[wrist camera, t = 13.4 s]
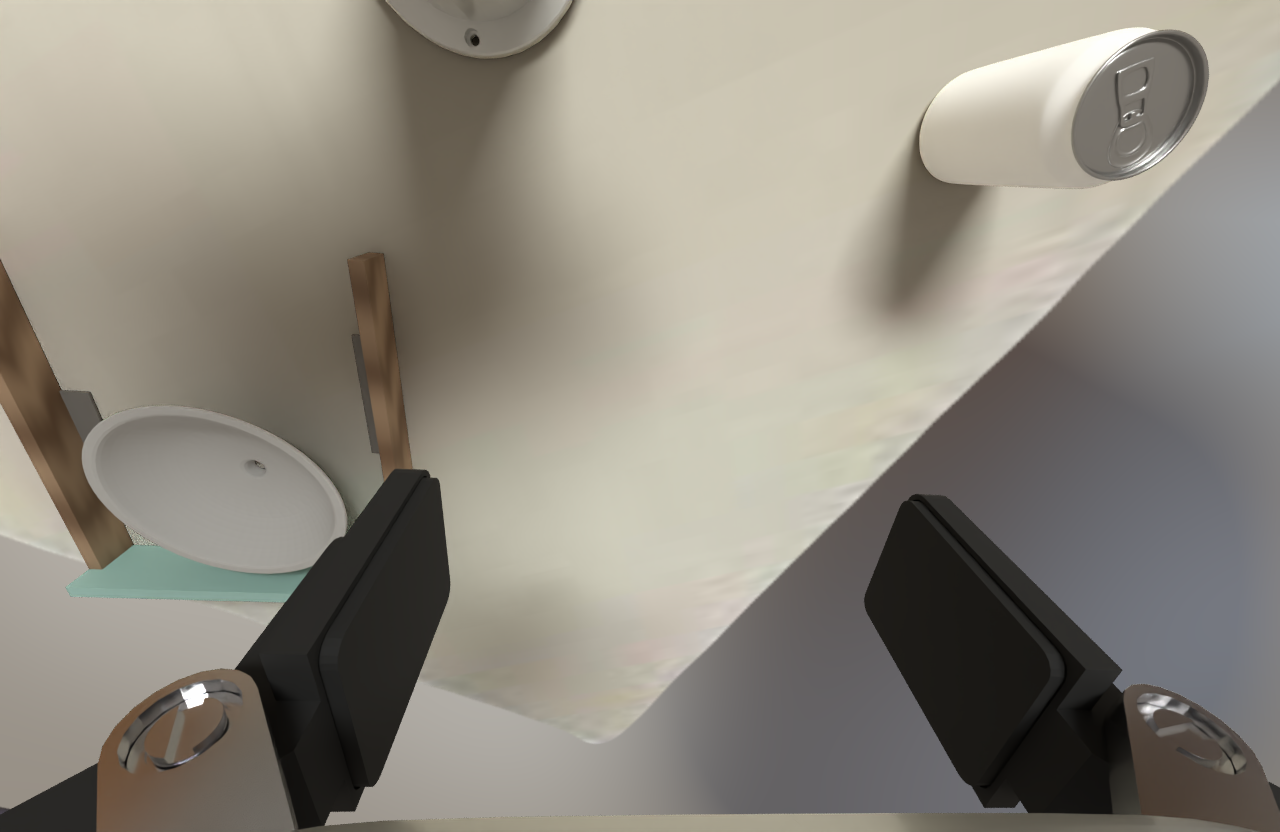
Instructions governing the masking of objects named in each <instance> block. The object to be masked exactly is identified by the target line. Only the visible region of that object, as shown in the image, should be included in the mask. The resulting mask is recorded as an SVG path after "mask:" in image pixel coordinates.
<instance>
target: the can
mask: <svg viewBox="0 0 1280 832" xmlns="http://www.w3.org/2000/svg"><path fill="white" fill-rule="evenodd" d="M1208 79H1209V67H1208V61H1207V57H1206V54H1205V52H1204V49H1203V48H1202V46H1201V45H1200V43H1199V42H1198V41H1197V40H1196V39H1195V38H1194V37H1192V36H1191V35H1189V34H1187V33H1185V32H1182V31H1178V30H1160V31H1157V30H1154V29H1149V28H1141V27H1136V28H1127V29H1121V30H1117V31H1112V32H1108V33H1104V34H1100V35H1097V36H1093V37H1089V38H1085V39H1082V40H1078V41H1074V42H1070V43H1067V44H1063V45H1059V46H1056V47H1052V48H1048V49H1045V50H1041V51H1038V52H1034V53H1030V54H1027V55H1023V56H1019V57H1016V58H1012V59H1009V60H1005V61H1001V62H998V63H994V64H991V65H987V66H984V67H980V68H977V69H974V70H971V71H968V72H966V73H964V74H961V75H960V76H958V77H956V78H955V79H953V80H952V81H951V82H949V83H948V84H947V85H946V86H945V87H944V88H943V89H942V90H941V91H940V92H939V93H938V94H937V96H936V97H935V98H934V100H933V101H932V103H931V104H930V106H929V108H928V110H927V112H926V114H925V116H924V119H923V122H922V126H921V130H920V137H919V148H920V155H921V158H922V161H923V163H924V165H925V167H926V169H927V170H928V171H929V172H930V173H931V174H932V175H933V176H934V177H935V178H937V179H939V180H941V181H943V182H947V183H953V184H966V185H985V186H1007V187H1030V188H1056V189H1083V188H1091V187H1096V186H1100V185H1103V184H1106V183H1108V182H1111V181H1115V180H1122V179H1127V178H1130V177H1133V176H1136V175H1138V174H1140V173H1142V172H1144V171H1146V170H1148V169H1150V168H1151V167H1153V166H1154V165H1156V164H1157V163H1159V162H1160V161H1161V160H1163V159H1164V158H1165V157H1166V156H1167V155H1168V154H1169V153H1170V152H1171V151H1173V149H1174V148H1175V147H1176V146H1177V145H1178V144H1179V143H1180V142H1181V141H1182V139H1183V138H1184V137H1185V135H1186V134H1187V133H1188V131H1189V130H1190V128H1191V127H1192V125H1193V123H1194V122H1195V120H1196V118H1197V116H1198V114H1199V112H1200V110H1201V107H1202V105H1203V102H1204V99H1205V96H1206V92H1207V87H1208Z"/></svg>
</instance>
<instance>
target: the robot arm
mask: <svg viewBox="0 0 1280 832" xmlns="http://www.w3.org/2000/svg"><path fill="white" fill-rule="evenodd" d="M385 1H386V2H387V3H388V4H389V5H390V6H391V8H392V9H393V10H394V11H395V12H396V13H397V14H398V15H399V16H400V17H401V18H402V19H403V20H404V21H405V22H406V23H407V24H408V25H410V26H411V27H412V28H413V29H415V30H416V31H417V32H418V33H420V34H421V35H423V36H424V37H425V38H427V39H429V40H430V41H432V42H434V43H435V44H437V45H438V46H440V47H442V48H445V49H447V50H450V51H452V52H455V53H457V54H460V55H464V56H469V57H475V58H481V59H487V58H503V57H507V56H510V55H513V54H517V53H520V52H523V51H524V50H526V49H528V48H530V47H531V46H533V45H535V44H537V43H538V42H540V41H541V40H542V39H543V38H544V37H545V36H546V35H548V34H549V33H550V32H551V31H552V30H553V29H554V28H555V27H556V26H557V24H558V23H559V22H560V20H561V19H562V17H563V16H564V15H565V13H566V12H567V10H568V9H569V7H570V5H571V3H572V1H573V0H385ZM475 36H477V37H479V40H480V42H479V44H478V46H474V45H473V43H472V39H473V37H475ZM449 592H450V575H449V565H448V556H447V547H446V538H445V528H444V519H443V510H442V500H441V491H440V483H439V480H438V479H437V478H430V474H429V472H428V471H427V470H416V469H394V470H393V471H392V472H391V473H390V475H389V476H388V478H387V479H386V480H385V482H384V483H383V484H382V486H381V487H380V488H379V490H378V491H377V493H376V494H375V495H374V497H373V498H372V499H371V501H370V502H369V503H368V505H367V506H366V508H365V509H364V510H363V512H362V513H361V514H360V516H359V517H358V519H357V520H356V521H355V523H354V524H353V525H352V527H351V528H350V529H349V531H348V532H347V534H346V535H345V536H344V537H338V538H336V539H334V540H333V541H332V542H331V543H330V544H329V545H328V547H327V548H326V549H325V551H324V552H323V553H322V555H321V556H320V557H319V559H318V560H317V561H316V562H315V564H314V565H313V566H312V568H311V569H310V570H309V572H308V573H307V574H306V576H305V577H304V578H303V580H302V581H301V582H300V584H299V585H298V586H297V588H296V589H295V590H294V592H293V593H292V594H291V596H290V597H289V598H288V599H287V601H286V602H285V603H284V605H283V606H282V607H281V609H280V610H279V611H278V613H277V614H276V615H275V617H274V618H273V619H272V621H271V622H270V623H269V625H268V626H267V627H266V629H265V630H264V631H263V633H262V634H261V635H260V637H259V638H258V639H257V641H256V642H255V643H254V644H253V646H252V647H251V649H250V650H249V651H248V652H247V654H246V655H245V656H244V658H243V659H242V661H241V662H240V663H239V664H238V666H237V667H236V668H235V670H232V669H215V670H209V671H203V672H199V673H196V674H193V675H190V676H187V677H185V678H182V679H179V680H177V681H175V682H173V683H171V684H169V685H167V686H166V687H164V688H162V689H160V690H158V691H156V692H155V693H153V694H152V695H150V696H149V697H148V698H146V699H145V700H144V701H142V702H141V703H139V704H138V705H137V706H136V707H134V708H133V709H132V710H131V711H130V712H129V713H128V714H127V715H126V716H125V717H124V718H123V719H122V720H121V721H120V722H119V723H118V724H117V725H116V726H115V727H114V729H113V730H112V732H111V733H110V735H109V737H108V738H107V740H106V741H105V743H104V745H103V746H102V749H101V754H100V757H99V761H98V763H97V764H95V765H93V766H91V767H89V768H87V769H85V770H84V771H82V772H80V773H78V774H76V775H74V776H72V777H70V778H68V779H67V780H65V781H63V782H61V783H59V784H57V785H55V786H53V787H52V788H50V789H48V790H46V791H44V792H42V793H40V794H38V795H36V796H35V797H33V798H31V799H29V800H27V801H25V802H24V803H21V804H20V805H18V806H16V807H14V808H12V809H10V810H8V811H6V812H4V813H3V814H1V815H0V832H1280V788H1279V787H1278V786H1276V785H1274V784H1272V783H1270V782H1268V780H1267V778H1266V775H1265V773H1264V770H1263V768H1262V765H1261V764H1260V762H1259V760H1258V759H1257V757H1256V755H1255V753H1254V752H1253V750H1252V749H1251V748H1250V747H1249V746H1248V745H1247V744H1246V743H1245V742H1244V741H1243V739H1242V738H1241V737H1240V736H1239V735H1238V734H1237V733H1236V732H1235V731H1233V730H1232V729H1231V728H1230V727H1229V726H1227V725H1226V724H1225V723H1224V722H1223V721H1222V720H1220V719H1219V718H1218V717H1216V716H1215V715H1213V714H1212V713H1210V712H1209V711H1207V710H1206V709H1204V708H1203V707H1201V706H1200V705H1198V704H1196V703H1194V702H1192V701H1191V700H1189V699H1187V698H1185V697H1183V696H1181V695H1179V694H1177V693H1174V692H1172V691H1169V690H1166V689H1164V688H1161V687H1157V686H1152V685H1148V684H1134V685H1131V686H1129V687H1128V688H1127V689H1125V690H1124V691H1123V693H1121V692H1120V690H1119V689H1118V688H1117V687H1116V686H1115V685H1114V684H1113V682H1114V680H1115V679H1116V678H1117V677H1118V675H1119V674H1120V673H1121V671H1122V669H1121V668H1120V667H1119V666H1118V665H1117V664H1116V663H1115V662H1114V661H1113V660H1112V659H1111V658H1110V657H1109V656H1108V655H1107V654H1105V652H1104V651H1102V649H1101V648H1100V647H1098V645H1097V644H1095V642H1093V641H1092V640H1091V639H1090V638H1089V637H1088V636H1087V635H1086V634H1085V633H1084V632H1083V631H1082V630H1081V629H1080V628H1079V627H1078V626H1077V625H1076V624H1075V623H1074V622H1073V621H1072V620H1071V619H1070V618H1069V617H1068V616H1067V615H1066V614H1065V613H1064V612H1063V611H1062V610H1061V609H1060V608H1059V607H1058V606H1057V605H1056V604H1055V603H1054V602H1053V601H1052V600H1051V599H1050V598H1049V597H1048V596H1047V595H1046V594H1045V593H1044V592H1043V591H1042V590H1041V589H1040V588H1039V587H1038V586H1037V585H1036V584H1035V583H1034V582H1033V581H1032V580H1031V579H1030V578H1029V577H1028V576H1026V574H1025V573H1024V572H1023V571H1022V570H1021V569H1020V568H1018V567H1017V565H1016V564H1015V563H1013V562H1012V561H1011V560H1010V559H1009V558H1008V557H1007V556H1006V555H1005V554H1004V553H1003V552H1002V551H1001V550H1000V549H999V548H998V547H997V546H996V545H995V544H994V543H993V542H992V541H991V540H990V539H989V538H988V537H987V536H986V535H985V534H984V533H983V532H982V531H981V530H980V529H979V528H978V527H977V526H976V525H975V524H974V523H973V522H972V521H971V520H970V519H969V518H968V517H967V516H966V515H965V514H964V513H963V512H962V511H961V510H960V509H959V508H958V507H957V506H956V505H954V503H953V502H952V501H951V500H950V499H948V498H947V497H946V496H941V495H924V494H915V495H912V496H911V497H910V498H909V500H908V501H904V502H903V503H902V504H901V506H900V508H899V511H898V513H897V516H896V518H895V521H894V523H893V526H892V528H891V531H890V533H889V536H888V538H887V541H886V543H885V546H884V549H883V551H882V553H881V556H880V558H879V561H878V564H877V566H876V569H875V571H874V574H873V576H872V578H871V581H870V583H869V586H868V588H867V591H866V594H865V598H864V602H865V608H866V612H867V614H868V616H869V617H870V619H871V621H872V623H873V625H874V626H875V628H876V630H877V632H878V633H879V635H880V637H881V638H882V640H883V642H884V644H885V646H886V647H887V649H888V651H889V653H890V654H891V656H892V658H893V660H894V661H895V663H896V665H897V667H898V668H899V670H900V672H901V674H902V676H903V677H904V679H905V681H906V683H907V684H908V686H909V688H910V690H911V691H912V693H913V695H914V697H915V698H916V700H917V702H918V704H919V705H920V707H921V709H922V711H923V712H924V714H925V716H926V718H927V720H928V721H929V723H930V725H931V727H932V728H933V730H934V732H935V733H936V735H937V737H938V739H939V741H940V742H941V744H942V746H943V747H944V749H945V751H946V753H947V755H948V756H949V758H950V760H951V762H952V763H953V765H954V767H955V768H956V771H957V772H958V774H959V775H960V777H961V778H962V779H963V780H964V781H965V782H966V783H967V784H969V785H971V786H972V787H973V789H974V791H975V792H976V794H977V796H978V798H979V800H980V801H981V803H982V804H983V807H984V808H1014V807H1015V806H1016V805H1017V804H1018V802H1019V801H1021V802H1022V804H1023V806H1024V807H1025V809H1026V810H1027V812H1028V813H870V814H869V813H864V814H862V813H860V814H858V813H856V814H714V815H712V814H710V815H628V816H627V815H623V816H550V817H549V816H541V817H493V818H492V817H489V818H458V819H426V820H395V821H377V822H366V823H365V822H364V823H353V824H341V825H329V826H324V825H325V823H326V820H327V818H328V816H329V814H330V812H340V811H341V812H342V811H344V812H346V811H349V812H350V811H355V810H356V807H357V805H358V803H359V800H360V797H361V795H362V793H363V790H364V788H365V787H373V786H374V785H375V784H376V783H377V781H378V780H379V777H380V775H381V773H382V770H383V768H384V765H385V762H386V760H387V757H388V754H389V752H390V749H391V747H392V744H393V742H394V739H395V736H396V734H397V731H398V729H399V726H400V723H401V721H402V718H403V715H404V713H405V710H406V708H407V705H408V703H409V700H410V697H411V695H412V692H413V690H414V687H415V684H416V682H417V679H418V677H419V674H420V671H421V669H422V666H423V664H424V661H425V658H426V656H427V653H428V651H429V648H430V645H431V643H432V640H433V638H434V635H435V632H436V630H437V627H438V625H439V622H440V619H441V617H442V614H443V612H444V609H445V606H446V604H447V601H448V597H449Z"/></svg>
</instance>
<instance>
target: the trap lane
mask: <svg viewBox="0 0 1280 832" xmlns="http://www.w3.org/2000/svg"><path fill="white" fill-rule="evenodd" d="M347 261H348V267H349V273H350V279H351V285H352V291H353V297H354V303H355V309H356V315H357V321H358V327H359V333H360V335H352V341H353V347H354V352H355V358H356V364H357V369H358V375H359V381H360V387H361V392H362V398H363V404H364V410H365V415H366V421H367V427H368V433H369V438H370V444H371V450H372V453H380V459H381V465H382V471H383V477H384V482H385V480H386V479H387V478H388V476H389V475H390V473H391V472H392V471H393V470H394V469H412V462H411V454H410V447H409V439H408V432H407V424H406V417H405V410H404V402H403V395H402V387H401V380H400V372H399V365H398V357H397V350H396V343H395V335H394V328H393V320H392V313H391V305H390V298H389V291H388V283H387V276H386V268H385V261H384V254H382V253H370V252H368V253H365V254H362V255H359V256H356V257H353V258H350V259H348V260H347ZM0 403H1V405H2V407H3V409H4V411H5V412H6V414H7V416H8V418H9V420H10V422H11V424H12V426H13V427H14V429H15V431H16V433H17V435H18V437H19V439H20V440H21V442H22V444H23V446H24V448H25V450H26V452H27V454H28V455H29V457H30V459H31V461H32V463H33V465H34V467H35V469H36V470H37V472H38V474H39V476H40V478H41V480H42V482H43V484H44V485H45V487H46V489H47V491H48V493H49V495H50V497H51V499H52V500H53V502H54V504H55V506H56V508H57V510H58V512H59V514H60V515H61V517H62V519H63V521H64V523H65V525H66V527H67V528H68V530H69V532H70V534H71V536H72V538H73V540H74V542H75V543H76V545H77V547H78V549H79V551H80V553H81V555H82V557H83V558H84V560H85V562H86V564H87V566H88V568H89V570H88V571H86V572H85V573H84V574H83V575H81V576H80V577H79V578H77V579H76V580H74V581H73V582H72V583H70V584H69V585H68V586H67V587H66V589H67V591H68V593H69V595H70V596H71V597H106V598H141V599H179V600H180V599H181V600H215V601H251V602H286V601H287V599H288V598H289V597H290V596H291V594H292V593H293V592H294V590H295V589H296V588H297V586H298V585H299V584H300V582H301V581H302V580H303V578H304V577H305V576H306V574H307V573H308V572H309V570H310V569H311V568H312V566H311V567H309V568H305V569H302V570H298V571H293V572H286V573H274V574H258V573H246V572H238V571H232V570H227V569H222V568H217V567H213V566H210V565H206V564H203V563H199V562H196V561H193V560H190V559H188V558H185V557H183V556H180V555H178V554H175V553H173V552H171V551H169V550H166V549H164V548H162V547H160V546H146V545H133V543H132V541H131V539H130V536H129V534H128V532H127V530H126V528H125V526H124V524H123V522H122V521H120V520H119V519H118V518H117V517H116V516H115V515H114V514H113V513H112V512H111V511H109V510H108V509H107V508H106V506H105V505H104V504H103V503H102V502H101V501H100V500H99V498H98V497H97V495H96V494H95V493H94V491H93V490H92V488H91V486H90V484H89V483H88V480H87V478H86V476H85V473H84V469H83V465H82V449H83V445H84V442H85V440H86V438H87V436H88V434H89V433H90V432H91V430H92V429H93V428H94V427H95V426H96V425H97V424H98V423H99V422H101V421H102V418H101V416H100V414H99V411H98V409H97V407H96V405H95V402H94V400H93V398H92V395H91V393H90V392H82V391H65V390H61V389H60V387H59V385H58V383H57V380H56V378H55V376H54V374H53V372H52V370H51V368H50V366H49V363H48V361H47V359H46V357H45V355H44V353H43V351H42V348H41V346H40V344H39V342H38V340H37V338H36V336H35V333H34V331H33V329H32V327H31V325H30V323H29V321H28V319H27V316H26V314H25V312H24V310H23V308H22V306H21V304H20V301H19V299H18V297H17V295H16V293H15V291H14V289H13V286H12V284H11V282H10V280H9V278H8V276H7V274H6V272H5V269H4V267H3V265H2V263H1V261H0Z"/></svg>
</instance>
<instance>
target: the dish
mask: <svg viewBox="0 0 1280 832" xmlns="http://www.w3.org/2000/svg"><path fill="white" fill-rule="evenodd" d="M255 461H258V462H260V463H261V464H263V465H264V467H265V468H266V469H263V468H260V467H258V466H257V465H256V463H255ZM82 465H83V469H84V473H85V476H86V478H87V480H88V483H89V484H90V486H91V488H92V490H93V491H94V493H95V494H96V495H97V497H98V498H99V500H100V501H101V502H102V503H103V504H104V505H105V506H106V508H107V509H108V510H109V511H111V512H112V513H113V514H114V515H115V516H116V517H117V518H118V519H119V520H120V521H122V522H123V523H124V524H125V525H127V526H128V527H129V528H131V529H132V530H134V531H135V532H137V533H138V534H140V535H141V536H143V537H144V538H146V539H148V540H149V541H151V542H153V543H155V544H157V545H158V546H160V547H162V548H164V549H166V550H169V551H171V552H173V553H175V554H178V555H180V556H183V557H185V558H188V559H190V560H193V561H196V562H199V563H203V564H206V565H210V566H213V567H217V568H222V569H227V570H232V571H238V572H246V573H258V574H274V573H286V572H293V571H298V570H302V569H305V568H309V567H311V566H313V565H314V564H315V562H316V561H317V560H318V559H319V557H320V556H321V555H322V553H323V552H324V551H325V549H326V548H327V547H328V545H329V544H330V543H331V542H332V541H333V540H334V539H336V538H338V537H344V536H345V534H346V530H347V513H346V508H345V505H344V502H343V500H342V498H341V495H340V494H339V492H338V490H337V488H336V487H335V485H334V484H333V483H332V481H331V480H330V479H329V477H328V476H327V475H326V474H325V473H324V472H323V471H322V470H321V469H320V468H319V467H318V466H317V465H316V464H315V463H314V462H313V461H312V460H311V459H310V458H308V457H307V456H306V455H305V454H303V453H302V452H301V451H299V450H298V449H297V448H295V447H294V446H292V445H291V444H289V443H288V442H286V441H284V440H283V439H281V438H279V437H277V436H276V435H274V434H272V433H270V432H268V431H266V430H264V429H262V428H260V427H258V426H255V425H253V424H251V423H248V422H246V421H243V420H240V419H237V418H235V417H232V416H228V415H225V414H222V413H218V412H214V411H210V410H205V409H200V408H194V407H186V406H177V405H151V406H143V407H136V408H132V409H127V410H124V411H121V412H118V413H115V414H113V415H111V416H109V417H107V418H105V419H104V420H102V421H101V422H99V423H98V424H97V425H96V426H95V427H94V428H93V429H92V430H91V432H90V433H89V434H88V436H87V438H86V440H85V442H84V445H83V449H82Z"/></svg>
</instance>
